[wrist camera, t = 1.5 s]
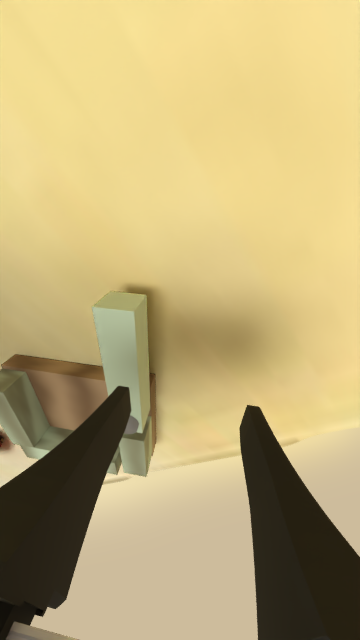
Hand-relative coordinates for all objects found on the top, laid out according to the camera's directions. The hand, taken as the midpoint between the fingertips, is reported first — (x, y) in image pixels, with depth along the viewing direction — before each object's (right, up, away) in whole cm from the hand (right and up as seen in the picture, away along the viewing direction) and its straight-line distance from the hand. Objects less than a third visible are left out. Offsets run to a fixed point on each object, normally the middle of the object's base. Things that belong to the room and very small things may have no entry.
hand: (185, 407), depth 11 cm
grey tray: (-13, -6, +17) cm, 22 cm away
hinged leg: (-5, +1, +8) cm, 10 cm away
